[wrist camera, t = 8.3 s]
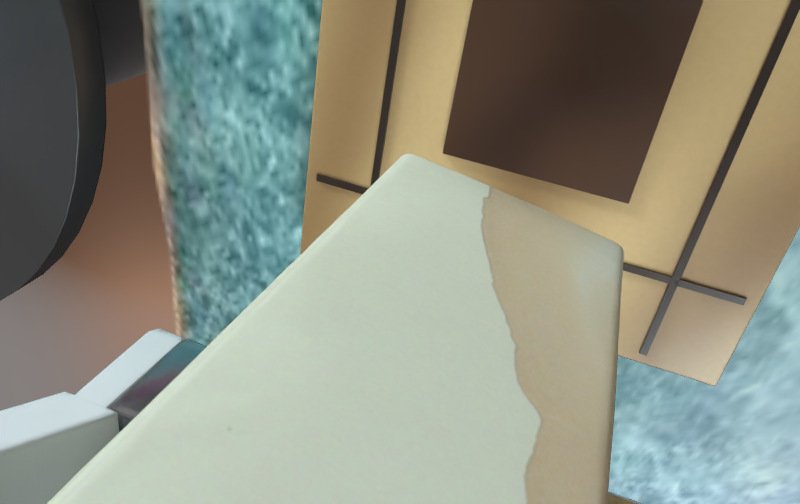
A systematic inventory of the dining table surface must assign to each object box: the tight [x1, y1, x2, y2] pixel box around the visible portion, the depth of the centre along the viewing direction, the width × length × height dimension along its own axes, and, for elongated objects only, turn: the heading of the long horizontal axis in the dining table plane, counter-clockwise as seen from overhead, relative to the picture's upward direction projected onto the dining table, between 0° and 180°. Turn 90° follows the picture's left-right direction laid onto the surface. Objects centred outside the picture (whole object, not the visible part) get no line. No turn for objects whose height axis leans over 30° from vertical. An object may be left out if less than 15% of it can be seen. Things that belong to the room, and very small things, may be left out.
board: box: [300, 0, 800, 386], centre depth 24 cm, size 18×20×2 cm
